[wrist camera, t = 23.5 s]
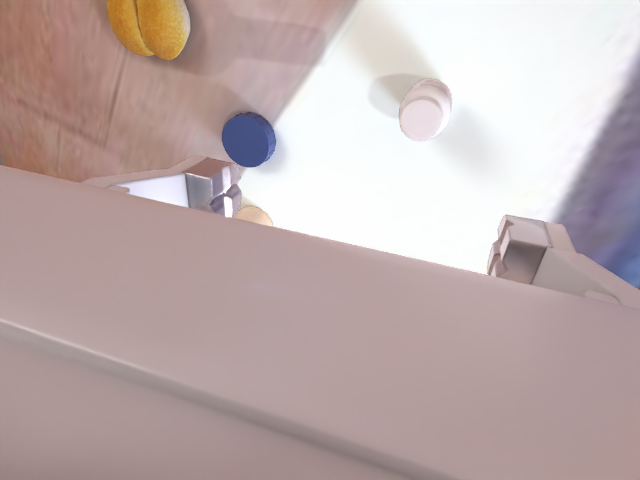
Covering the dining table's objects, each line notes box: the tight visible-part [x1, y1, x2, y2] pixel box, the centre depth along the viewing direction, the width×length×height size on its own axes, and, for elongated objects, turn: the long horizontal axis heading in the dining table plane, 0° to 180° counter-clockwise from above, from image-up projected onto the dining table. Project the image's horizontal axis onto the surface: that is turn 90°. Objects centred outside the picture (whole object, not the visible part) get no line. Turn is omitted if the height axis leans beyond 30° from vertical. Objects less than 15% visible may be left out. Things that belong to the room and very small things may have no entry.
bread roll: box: [107, 0, 190, 60], centre depth 42 cm, size 8×9×4 cm
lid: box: [222, 112, 276, 167], centre depth 46 cm, size 6×6×2 cm
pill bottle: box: [399, 79, 452, 141], centre depth 36 cm, size 4×4×8 cm
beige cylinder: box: [232, 206, 273, 227], centre depth 49 cm, size 5×5×11 cm
